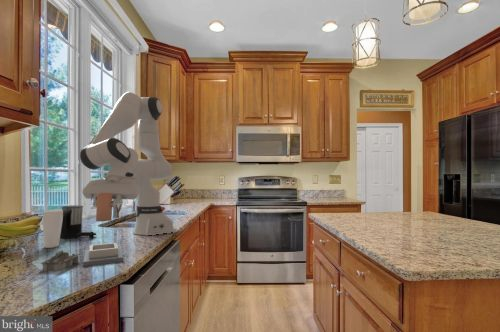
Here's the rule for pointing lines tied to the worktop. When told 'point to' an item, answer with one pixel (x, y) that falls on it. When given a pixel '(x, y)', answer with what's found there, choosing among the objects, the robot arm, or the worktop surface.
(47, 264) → the grey rock frame
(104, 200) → the pillar
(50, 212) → the drinking glass
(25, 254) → the worktop surface
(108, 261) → the base board
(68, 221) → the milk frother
